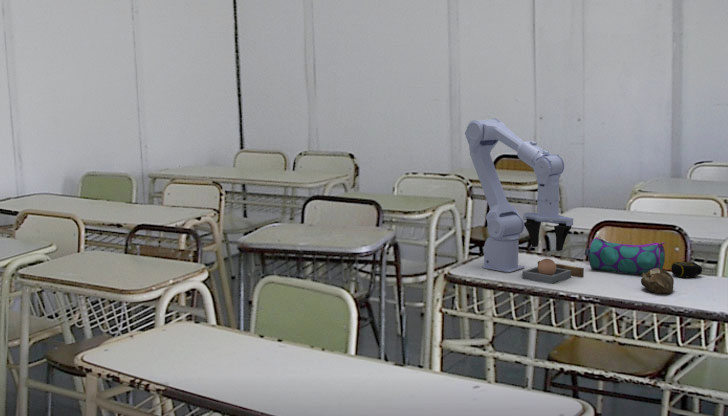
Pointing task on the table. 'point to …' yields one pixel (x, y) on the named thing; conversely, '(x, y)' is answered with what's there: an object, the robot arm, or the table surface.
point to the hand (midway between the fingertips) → (547, 248)
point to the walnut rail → (574, 270)
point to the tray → (536, 276)
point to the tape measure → (686, 269)
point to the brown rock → (658, 281)
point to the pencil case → (625, 256)
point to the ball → (547, 267)
